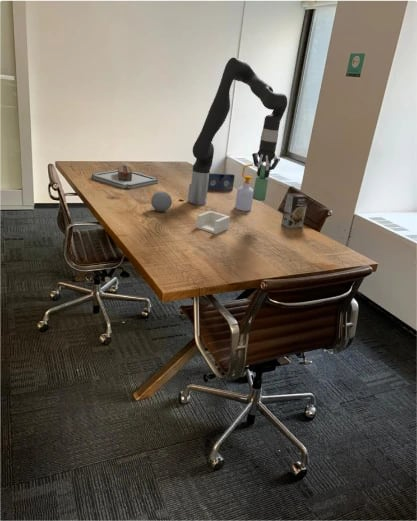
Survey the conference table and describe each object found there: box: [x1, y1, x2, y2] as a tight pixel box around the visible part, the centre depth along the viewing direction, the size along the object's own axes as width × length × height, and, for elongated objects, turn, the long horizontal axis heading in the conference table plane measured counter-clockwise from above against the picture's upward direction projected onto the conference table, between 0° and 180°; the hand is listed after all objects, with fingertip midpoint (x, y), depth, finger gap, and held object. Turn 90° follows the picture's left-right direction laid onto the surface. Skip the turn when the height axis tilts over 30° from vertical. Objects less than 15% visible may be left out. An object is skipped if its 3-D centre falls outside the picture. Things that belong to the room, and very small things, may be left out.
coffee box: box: [281, 193, 309, 229], centre depth 223 cm, size 9×6×16 cm
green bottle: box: [253, 164, 269, 202], centre depth 210 cm, size 6×6×16 cm
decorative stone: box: [150, 190, 173, 213], centre depth 220 cm, size 10×10×10 cm
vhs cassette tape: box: [207, 172, 236, 192], centre depth 274 cm, size 18×3×10 cm, turn 108°
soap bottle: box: [234, 163, 254, 212], centre depth 239 cm, size 9×9×25 cm
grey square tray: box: [91, 165, 159, 190], centre depth 267 cm, size 30×30×8 cm
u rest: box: [195, 210, 231, 235], centre depth 206 cm, size 11×11×6 cm
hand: (262, 176), depth 209 cm, fingers closed on green bottle, 3 cm apart
